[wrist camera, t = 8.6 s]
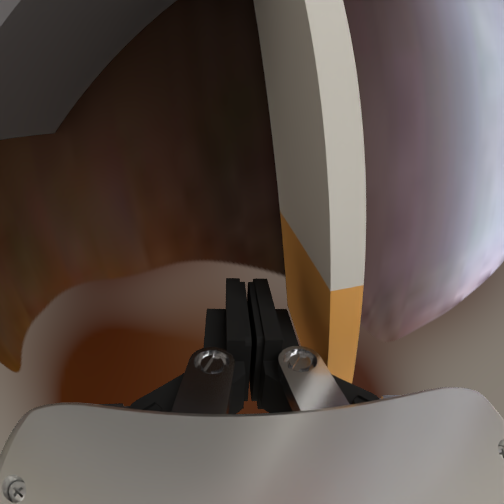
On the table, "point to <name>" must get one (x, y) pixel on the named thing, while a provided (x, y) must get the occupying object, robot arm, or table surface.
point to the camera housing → (59, 55)
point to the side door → (318, 170)
